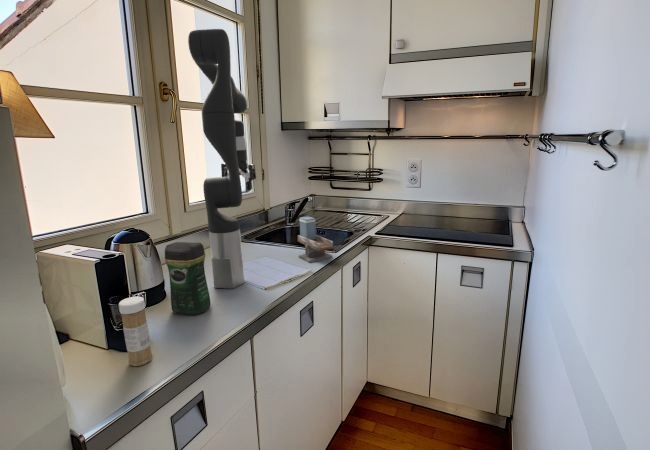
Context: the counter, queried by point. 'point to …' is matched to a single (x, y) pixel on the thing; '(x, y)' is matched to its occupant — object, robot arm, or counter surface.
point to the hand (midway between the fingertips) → (239, 190)
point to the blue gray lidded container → (307, 227)
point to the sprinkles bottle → (135, 330)
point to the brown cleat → (315, 248)
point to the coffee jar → (187, 278)
